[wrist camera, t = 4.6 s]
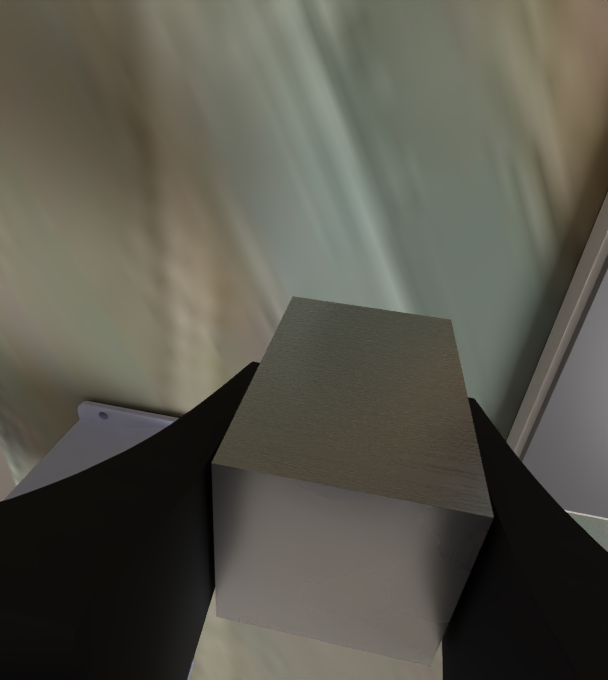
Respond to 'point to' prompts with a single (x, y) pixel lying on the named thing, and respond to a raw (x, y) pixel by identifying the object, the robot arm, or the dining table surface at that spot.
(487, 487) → the robot arm
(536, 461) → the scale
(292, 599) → the block
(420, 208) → the dining table surface
